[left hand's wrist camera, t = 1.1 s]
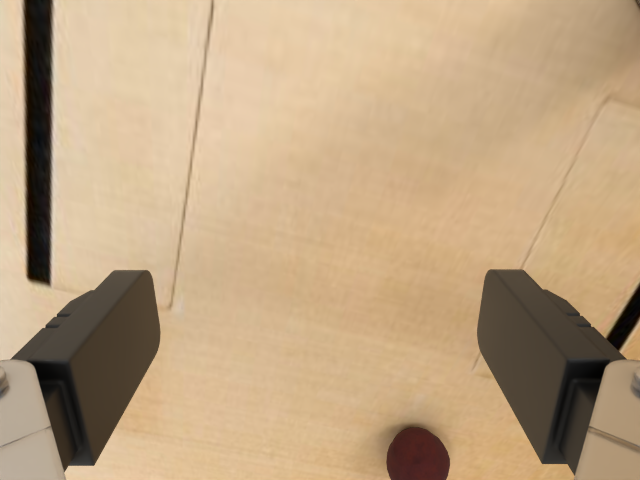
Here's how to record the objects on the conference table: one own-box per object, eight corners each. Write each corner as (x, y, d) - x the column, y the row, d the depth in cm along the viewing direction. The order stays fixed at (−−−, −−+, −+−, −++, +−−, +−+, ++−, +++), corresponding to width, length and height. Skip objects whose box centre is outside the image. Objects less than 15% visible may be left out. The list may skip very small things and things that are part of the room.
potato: (388, 466, 58) (397, 517, 52) (377, 420, 56) (385, 468, 49) (445, 456, 58) (461, 506, 51) (437, 409, 55) (453, 456, 48)
